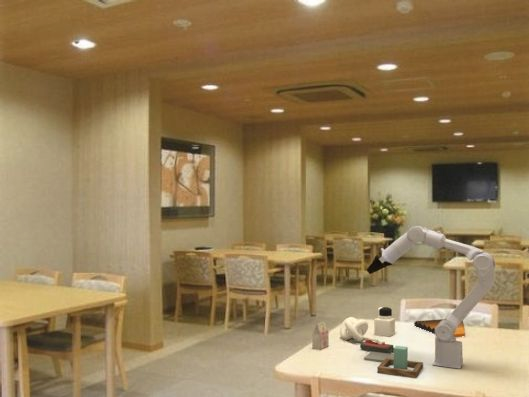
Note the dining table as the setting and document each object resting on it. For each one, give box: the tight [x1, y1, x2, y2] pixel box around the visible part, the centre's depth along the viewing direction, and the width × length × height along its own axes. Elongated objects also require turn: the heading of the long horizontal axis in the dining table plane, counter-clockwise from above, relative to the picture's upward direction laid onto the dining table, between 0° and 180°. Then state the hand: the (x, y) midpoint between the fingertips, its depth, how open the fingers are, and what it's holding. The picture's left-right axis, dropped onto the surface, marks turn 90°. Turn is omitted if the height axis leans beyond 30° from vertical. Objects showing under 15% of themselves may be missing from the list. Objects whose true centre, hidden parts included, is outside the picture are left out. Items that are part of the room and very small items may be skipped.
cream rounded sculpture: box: [339, 316, 369, 342], centre depth 238 cm, size 11×12×9 cm
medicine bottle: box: [373, 306, 396, 338], centre depth 248 cm, size 7×7×12 cm
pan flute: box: [413, 318, 466, 338], centre depth 257 cm, size 25×3×25 cm
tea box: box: [311, 321, 330, 351], centre depth 224 cm, size 4×7×10 cm, turn 145°
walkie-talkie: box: [351, 338, 394, 354], centre depth 223 cm, size 9×4×20 cm
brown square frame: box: [377, 358, 424, 379], centre depth 194 cm, size 13×13×2 cm
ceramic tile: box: [363, 352, 394, 363], centre depth 209 cm, size 10×10×1 cm
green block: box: [393, 345, 409, 370], centre depth 194 cm, size 4×4×8 cm
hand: (370, 271), depth 214 cm, fingers open, 7 cm apart
